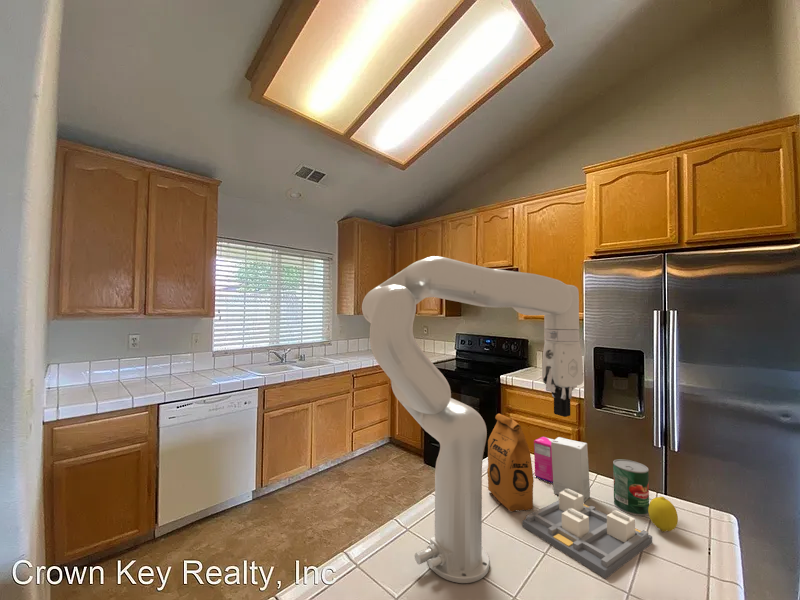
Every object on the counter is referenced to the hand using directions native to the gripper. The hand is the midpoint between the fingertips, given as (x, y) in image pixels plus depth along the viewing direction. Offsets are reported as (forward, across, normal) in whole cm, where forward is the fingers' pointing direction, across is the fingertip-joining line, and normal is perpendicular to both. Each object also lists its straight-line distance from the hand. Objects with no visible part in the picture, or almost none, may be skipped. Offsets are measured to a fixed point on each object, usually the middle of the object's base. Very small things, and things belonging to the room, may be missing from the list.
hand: (562, 414), depth 81 cm
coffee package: (+27, +1, +16) cm, 32 cm away
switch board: (+27, +4, -3) cm, 28 cm away
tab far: (+26, +8, +3) cm, 27 cm away
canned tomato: (+27, +26, -3) cm, 38 cm away
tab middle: (+26, 0, -3) cm, 26 cm away
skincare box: (+27, +18, +9) cm, 34 cm away
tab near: (+26, +8, -9) cm, 28 cm away
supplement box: (+27, +22, +19) cm, 40 cm away
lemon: (+27, +21, -12) cm, 36 cm away
